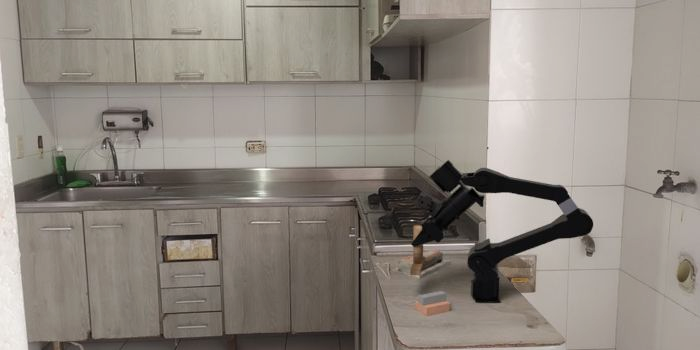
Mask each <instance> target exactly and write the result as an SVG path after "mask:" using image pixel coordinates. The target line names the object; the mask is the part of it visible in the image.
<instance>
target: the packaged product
mask: <svg viewBox="0 0 700 350" xmlns="http://www.w3.org/2000/svg"><path fill="white" fill-rule="evenodd" d="M423 256H424V257H425V264H424V267H423V269H422V272H421V274H420V276H419V275H410V269H411V266H412V264H413V254H412V255H409V256H407V257H403V258H401V259H399V260H398V265H397V267H395V268H393V269H392V270H391V272H392V273H395V274H399V275H404V276H408V277H410V278H411V277H413V278H416V279H422V278H424V277H425V276H428V275H431V274H433V273H434V272H437V271H440V270H441V269H443V268H446V267H448V266H449V265H450V264H451V260H449V259H447V260H446V259H443V252H442V251H440V250H439V249H425V250H423Z"/></svg>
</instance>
